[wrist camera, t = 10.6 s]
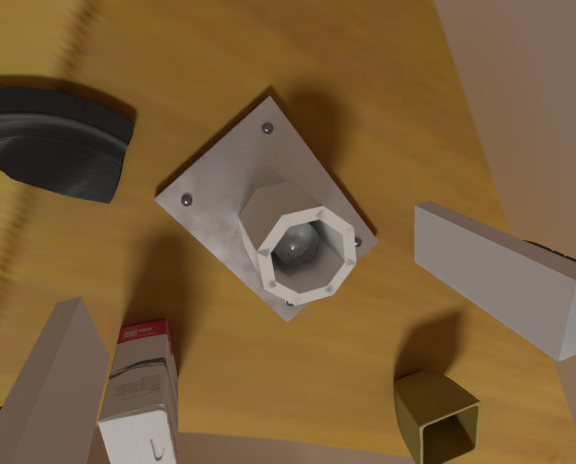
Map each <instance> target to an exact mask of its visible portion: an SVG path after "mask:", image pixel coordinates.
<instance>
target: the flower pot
mask: <svg viewBox="0 0 576 464" xmlns="http://www.w3.org/2000/svg"><path fill="white" fill-rule="evenodd" d="M394 395H395V410H396V417H397V422H398V426H399V429H400V432H401V435H402V437H403V440H404V442H405V444H406V446H407V448H408V450H409V452H410V453H411V455H412V457H413V459H414V461H415V463H416V464H446V463H448V462H451V461H453V460H455V459H458V458H460V457H462V456H465V455H467V454H469V453H471V452H473V451H475V450H476V449H477V448H478V441H479V422H480V413H481V402H480V401H479V400H478V399H476V398H475V397H474V396H473V395H471V394H470V393H469V392H467V391H466V390H465V389H463V388H462V387H461V386H460V385H458V384H457V383H456V382H454V381H453V380H451V379H450V378H448V377H446V376H444V375H442V374H439V373H436V372H432V371H426V370H422V371H419V372H416V373H414V374H411V375H409V376H406V377H403V378H400V379H398V380H396V381H395V382H394Z"/></svg>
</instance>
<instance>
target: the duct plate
mask: <svg viewBox="0 0 576 464" xmlns="http://www.w3.org/2000/svg"><path fill="white" fill-rule="evenodd" d="M289 181H290V182H292V183H293V184H294V185H296V186H297V187H299V188H300V189H301V190H303V191H304V192H306V193H307V194H308V195H310V196H311V197H313V198H314V199H316V200H317V201H319V202H320V203H321V204H323V205H324V206H326V207H327V208H328V209H330V210H331V211H333V212H334V213H335V214H337V215H338V216H340V217H341V218H342V219H344V220H345V221H347V222H348V223H349V224H351V225H352V226H354V237H355V251H356V262H357V261H358V260H359V259H360V258H361V257H362V256H363V255H365V254H366V253H367V252H368V251H369V250H370V249H371V248H372V247H374V246H375V245H376V244H377V243H378V240H377V239H376V238H375V236H374V235H373V234H372V232H371V231H370V229H369V228H368V227H367V225H366V224H365V223H364V221H363V220H362V219H361V217H360V216H359V215H358V213H357V212H356V211H355V209H354V208H353V207H352V205H351V204H350V203H349V201H348V200H347V199H346V197H345V196H344V195H343V193H342V192H341V190H340V189H339V188H338V186H337V185H336V184H335V182H334V181H333V180H332V178H331V177H330V176H329V174H328V173H327V172H326V170H325V169H324V168H323V166H322V165H321V164H320V162H319V161H318V160H317V158H316V157H315V155H314V154H313V153H312V151H311V150H310V149H309V147H308V146H307V145H306V143H305V142H304V141H303V139H302V138H301V137H300V135H299V134H298V133H297V131H296V130H295V129H294V127H293V126H292V125H291V123H290V122H289V120H288V119H287V118H286V116H285V115H284V114H283V112H282V111H281V110H280V108H279V107H278V106H277V104H276V103H275V102H274V100H273V99H272V98H271V96H267V97H266V98H264V99H263V100H262V101H261V102H260V103H259V104H258V105H257V106H255V107H254V108H253V109H252V110H251V111H250V112H249V113H248V114H247V115H245V116H244V117H243V118H242V119H241V120H240V121H239V122H238V123H236V124H235V125H234V126H233V127H232V128H231V129H230V130H229V131H228V132H226V133H225V134H224V135H223V136H222V137H221V138H220V139H219V140H217V141H216V142H215V143H214V144H213V145H212V146H211V147H210V148H209V149H207V150H206V151H205V152H204V153H203V154H202V155H201V156H200V157H198V158H197V159H196V160H195V161H194V162H193V163H192V164H191V165H190V166H188V167H187V168H186V169H185V170H184V171H183V172H182V173H181V174H180V175H178V176H177V177H176V178H175V179H174V180H173V181H172V182H171V183H169V184H168V185H167V186H166V187H165V188H164V189H163V190H162V191H161V192H159V193H158V194H157V195H156V196H155V198H154V200H155V201H156V202H157V203H158V204H160V205H161V206H162V207H163V208H164V209H165V210H166V211H167V212H168V213H169V214H170V215H171V216H173V217H174V218H175V219H176V220H177V221H178V222H179V223H180V224H181V225H182V226H183V227H184V228H186V229H187V230H188V231H189V232H190V233H191V234H192V235H193V236H194V237H195V238H196V239H197V240H199V241H200V242H201V243H202V244H203V245H204V246H205V247H206V248H207V249H208V250H209V251H210V252H212V253H213V254H214V255H215V256H216V257H217V258H218V259H219V260H220V261H221V262H222V263H223V264H225V265H226V266H227V267H228V268H229V269H230V270H231V271H232V272H233V273H234V274H235V275H236V276H238V277H239V278H240V279H241V280H242V281H243V282H244V283H245V284H246V285H247V286H248V287H249V288H251V289H252V290H253V291H254V292H255V293H256V294H257V295H258V296H259V297H260V298H261V299H262V300H264V301H265V302H266V303H267V304H268V305H269V306H270V307H271V308H272V309H273V310H274V311H275V312H277V313H278V314H279V315H280V316H281V317H282V318H283V319H284V320H285V321H286V322H287V323H288V322H289V321H290V320H291V319H292V318H293V317H294V316H295V315H297V314H298V313H299V312H300V311H301V310H302V309H303V308H305V307H306V306H307V305H308V304H309V303H310V302H311V301H310V302H307V303H303V304H300V305H297V306H295V305H294V304H292V303H290V302H288V301H286V300H284V299H282V298H280V297H278V296H276V295H274V294H273V293H271V292H269V291H267V290H264V289H263V286H262V284H261V282H260V280H259V278H258V275H257V273H256V271H255V269H254V267H253V265H252V262H251V260H250V258H249V256H248V254H247V251H246V249H245V247H244V242H243V237H242V232H241V227H240V222H239V218H238V216H239V214H240V213H241V211H242V210H243V209H244V207H245V206H246V204H247V203H248V201H249V200H250V198H251V197H252V195H253V194H254V192H255V191H256V189H257V188H261V187H266V186H271V185H275V184H280V183H285V182H289ZM318 248H319V236H318V233H317V232H316V230H315V229H314V228H313V227H312V226H311V225H310V224H309V223H308V222H307V223H302V224H298V225H294V226H290V227H289V228H288V229H287V231H286V232H285V233H284V235H283V236H282V238H281V239H280V240H279V242H278V243H277V245H276V246H275V248H274V249H273V250H272V252H273V251H275V253H276V254H277V256H278V257H279V259H280V260H281V261H282V262H284V263H285V264H288V265H292V266H298V265H302V264H305V263H307V262H308V261H310V260H311V259H312V258H313V257H314V255H315V254H316V252H317V250H318Z"/></svg>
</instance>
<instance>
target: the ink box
mask: <svg viewBox="0 0 576 464" xmlns="http://www.w3.org/2000/svg"><path fill="white" fill-rule="evenodd" d="M98 423H99V427H100V430H101V433H102V436H103V440H104V443H105V447H106V450H107V453H108V457H109V460H110V463H111V464H178V376H177V370H176V365H175V359H174V354H173V348H172V343H171V338H170V332H169V326H168V321H167V320H159V321H153V322H147V323H142V324H136V325H132V326H128V327H124V328H121V329H120V333H119V338H118V342H117V346H116V351H115V355H114V359H113V363H112V368H111V372H110V376H109V380H108V384H107V388H106V392H105V396H104V400H103V404H102V408H101V412H100V417H99V420H98Z"/></svg>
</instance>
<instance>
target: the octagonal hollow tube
mask: <svg viewBox="0 0 576 464" xmlns="http://www.w3.org/2000/svg"><path fill="white" fill-rule="evenodd" d="M238 218H239V222H240V227H241V232H242V237H243V242H244V247H245V249H246V251H247V254H248V256H249V258H250V260H251V262H252V265H253V267H254V269H255V271H256V273H257V275H258V278H259V280H260V282H261V284H262V286H263V289H264V290H267V291H269V292H271V293H273V294H274V295H276V296H278V297H280V298H282V299H284V300H286V301H288V302H290V303H292V304H294V305H295V306H297V305H300V304H303V303H307V302H310V301H314V300H317V299H320V298H324V297H327V296H331V295H334V293H335V292H336V290H337V289H338V288H339V286H340V285H341V283H342V282H343V281H344V279H345V278H346V277H347V275H348V274H349V273H350V271H351V270H352V269H353V267H354V266H355V265H356V251H355V237H354V226H352V225H351V224H349V223H348V222H347V221H345V220H344V219H342V218H341V217H340V216H338V215H337V214H335V213H334V212H333V211H331V210H330V209H328V208H327V207H326V206H324V205H323V204H321V203H320V202H319V201H317V200H316V199H314V198H313V197H311V196H310V195H308V194H307V193H306V192H304V191H303V190H301V189H300V188H299V187H297V186H296V185H294V184H293V183H292V182H290V181H289V182H285V183H280V184H275V185H271V186H266V187H261V188H257V189H256V191H255V192H254V194H253V195H252V197H251V198H250V200H249V201H248V203H247V204H246V206H245V207H244V209H243V210H242V211H241V213H240V214H239V216H238ZM307 222H308V223H309V224H310V225H311V226H312V227H313V228H314V229H315V230H316V232H317V233H318V236H319V248H318V250H317V252H316V254H315V255H314V257H313V258H312V259H311V260H310V261H308V262H307V263H305V264H302V265H298V266H292V265H288V264H285V263H284V262H282V261H281V260H280V259H279V257H278V256H277V254H276V253H275V251H273V252H272V250H273V249H274V248H275V246H276V245H277V243H278V242H279V240H280V239H281V238H282V236H283V235H284V233H285V232H286V231H287V229H288V228H289V227H290V226H294V225H298V224H302V223H307Z"/></svg>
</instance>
